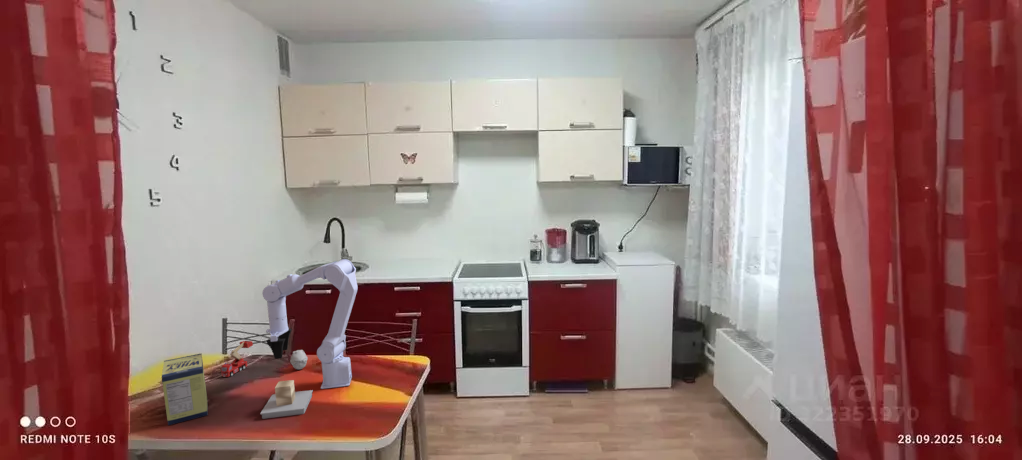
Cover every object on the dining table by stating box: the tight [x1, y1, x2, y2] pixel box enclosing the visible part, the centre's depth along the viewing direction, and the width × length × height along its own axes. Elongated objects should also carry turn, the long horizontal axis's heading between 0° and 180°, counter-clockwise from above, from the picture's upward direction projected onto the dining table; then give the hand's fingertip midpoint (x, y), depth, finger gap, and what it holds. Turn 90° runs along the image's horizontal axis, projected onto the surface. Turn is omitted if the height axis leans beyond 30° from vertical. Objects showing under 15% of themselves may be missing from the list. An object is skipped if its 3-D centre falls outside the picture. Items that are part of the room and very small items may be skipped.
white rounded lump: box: [289, 349, 308, 370], centre depth 181 cm, size 6×7×7 cm
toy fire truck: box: [221, 340, 254, 378], centre depth 181 cm, size 3×14×10 cm, turn 168°
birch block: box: [274, 379, 296, 406], centre depth 151 cm, size 4×4×6 cm
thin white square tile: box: [260, 389, 314, 420], centre depth 152 cm, size 13×13×2 cm
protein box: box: [161, 353, 209, 426], centre depth 151 cm, size 10×16×16 cm
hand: (281, 354), depth 169 cm, fingers open, 7 cm apart
